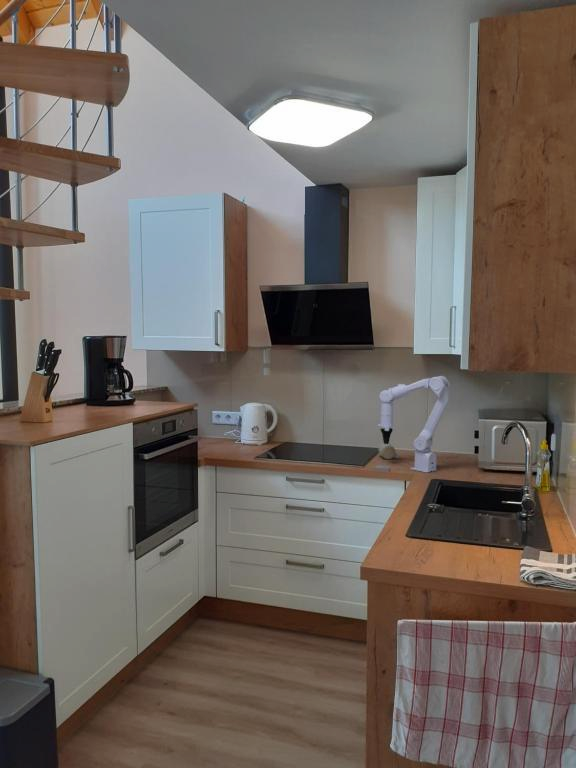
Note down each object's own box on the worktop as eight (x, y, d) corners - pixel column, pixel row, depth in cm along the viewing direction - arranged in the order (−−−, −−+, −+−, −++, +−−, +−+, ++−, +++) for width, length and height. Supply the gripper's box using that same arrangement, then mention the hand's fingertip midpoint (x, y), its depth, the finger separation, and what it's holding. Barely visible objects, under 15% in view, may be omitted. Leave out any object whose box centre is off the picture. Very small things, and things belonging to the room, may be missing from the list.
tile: (375, 465, 280) (375, 467, 274) (388, 465, 279) (388, 468, 273) (375, 469, 280) (375, 471, 274) (388, 469, 279) (388, 472, 273)
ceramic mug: (381, 460, 300) (382, 444, 299) (377, 456, 308) (378, 441, 307) (402, 460, 301) (403, 445, 300) (398, 457, 309) (398, 442, 308)
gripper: (378, 413, 293) (377, 440, 294) (378, 416, 278) (377, 446, 279) (392, 413, 292) (392, 441, 293) (393, 417, 277) (393, 446, 278)
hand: (386, 443), depth 286 cm, fingers closed
